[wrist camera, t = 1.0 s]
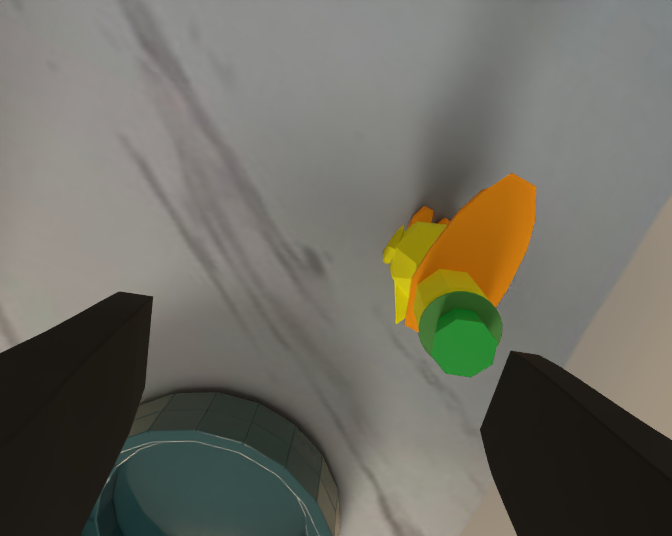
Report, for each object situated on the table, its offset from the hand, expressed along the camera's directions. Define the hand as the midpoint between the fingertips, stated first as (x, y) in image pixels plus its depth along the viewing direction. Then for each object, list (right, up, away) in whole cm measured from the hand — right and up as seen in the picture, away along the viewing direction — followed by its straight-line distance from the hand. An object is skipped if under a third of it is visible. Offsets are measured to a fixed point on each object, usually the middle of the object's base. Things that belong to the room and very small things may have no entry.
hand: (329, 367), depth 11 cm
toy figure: (+4, +4, +14) cm, 15 cm away
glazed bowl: (-6, -10, +18) cm, 21 cm away
